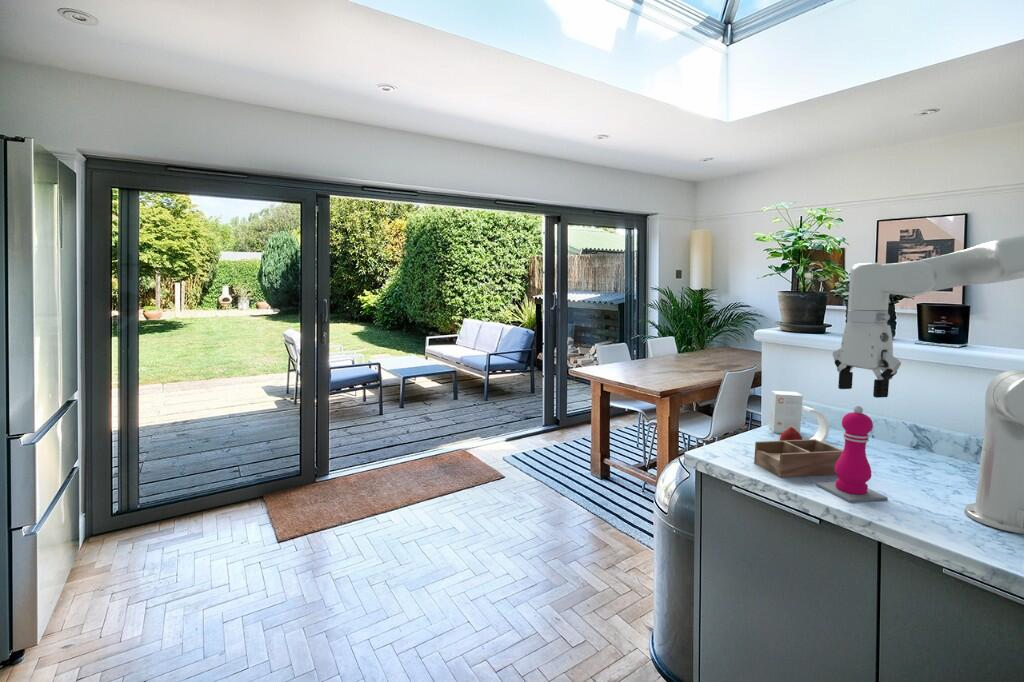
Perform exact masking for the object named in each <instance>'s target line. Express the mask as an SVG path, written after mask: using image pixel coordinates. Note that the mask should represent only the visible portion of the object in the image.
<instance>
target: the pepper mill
mask: <svg viewBox="0 0 1024 682" xmlns="http://www.w3.org/2000/svg"><path fill="white" fill-rule="evenodd" d="M863 411H864V409H863V407H862V406H860V405H857V406H855V407H854V408H853V412H848V413H846V414H845V415H844V416H843V418H842V420H841V426H842V428H843V429H844V430H845V431H843V432H842V433H843V436H842V437H843V439H844V446H843V449H842V450H843V452H842V454H841V456H840V457H839V459H838V460H837V462H836V465H835V473H836V475H835V476H837V477H838V478H837V479H836V480H835V482H836V488H837V489H838V490H840V491H843V492H846V493H850V494H856V495H864V494H866V493H867V489H868V488H869V486H868V484H867V482H868V481H870V480H871V479H872V469H871V465H870V462H869V461H868V457H867V455H866V454H867V453H866V449H867V448H866V447H867V446H866V445H867V443H868V442H869V441H870V440H869V438H870V435H869V433H871V432H872V430H873V428H874V426H873V424H874V423H873V421H872V419H871V417H870V416H868V415H867V414H865V413H863Z"/></svg>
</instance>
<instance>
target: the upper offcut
mask: <svg viewBox="0 0 1024 682" xmlns="http://www.w3.org/2000/svg"><path fill="white" fill-rule="evenodd" d="M767 454H769V455H771V456H773V457H775V458H777V459H779V460H780V454H777V453H767Z"/></svg>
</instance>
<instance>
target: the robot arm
mask: <svg viewBox="0 0 1024 682" xmlns="http://www.w3.org/2000/svg"><path fill="white" fill-rule="evenodd" d="M849 272H850V273H849V274H850V275H849V287H848V302H847V305H848V306H847V315H846V317H847V320H846V321H847V322H846V323H845V326H844V329H843V333H842V338H841V345H840V348H839V349H836V350H834V351H833V352H832V356H833V360H834V365H835V367H836V371H837V372H838V384H837V387H838V389H839V390H851V389H852V388H853V376H854V374H853V373H854V372H853V369H854V368H858V369H863V370H864V369H865V370H869V371H870V370H872V372H873V374H874V375H875V377H876V378H875V379H874V381H873V393H872V394H873V395H872V396H873V397H874V398H875V399H876V398H880V399H881V398H888V397H889V386H890V385H889V384H890V381H891V380H893V377H894V376H895V375H896V374H897V373H898V370H899V368H900V367H901V365H902V362H901V361H900V360H899V359H898V358H896V357H895V356H894V347H893V346H894V345H893V344H894V343H893V333H892V327H891V325H889V324H888V321H890V318H891V316H890V314H889V301H890V295H897V296H898V295H899V296H906V297H917V296H922V295H924V294H927V293H929V292H935V291H940V290H946V289H950V288H957V287H965V286H971V285H984V284H987V285H988V284H989V285H990V284H995V283H996V284H997V283H1002V282H1003V283H1004V282H1009V281H1013V280H1020V279H1024V233H1023V234H1018V235H1014V236H1010V237H1009V236H1008V237H1005V238H1000V239H995V240H991V241H987V242H984V243H981V244H978V245H975V246H973V247H969V248H966V249H962V250H959V251H955V252H951V253H947V254H942V255H937V256H933V257H929V258H928V257H927V258H924V259H918V260H908V261H902V262H893V263H886V262H861V263H856V264H854V265H853V266H852V267H850V271H849ZM986 387H987V388H986V391H985V395H984V397H985V399H984V400H985V401H984V403H985V404H984V409H985V410H984V412H985V413H984V430H983V437H982V439H983V440H982V445H981V446H982V447H981V453H980V454H981V455H980V461H979V468H978V469H979V470H978V472H979V473H978V480H977V485H976V486H977V487H976V496H975V503H969V504H967V505H965V506H964V513H965V515H967V516H968V517H969V518H970V519H972V520H974V521H976V522H978V523H981V524H983V525H986V526H989V527H992V528H993V529H994V528H995V529H997V530H1001V531H1004V532H1005V531H1006V532H1010V533H1016V534H1021V535H1024V369H1011V370H1006V371H1003V372H1001V373H999V374H997V375H996V376H994V377H993V378H992V379H991V380H990V381H989V383H988V385H987V386H986Z"/></svg>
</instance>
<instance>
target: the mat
mask: <svg viewBox="0 0 1024 682" xmlns="http://www.w3.org/2000/svg"><path fill="white" fill-rule="evenodd" d="M815 486H816V487H818V488H820V489H822V490H825V491H826V492H828V493H830V494H832V495H833V496H836V497H838V498H839V499H841V500H844V501H846V502H848V503H858V502H859V503H860V502H872V501H873V502H874V501H888V498H889V497H888V496H885V495H884V494H882V493H880V492H877V491H875V490H873V489H870V488H869V487H868V489H867V493H866V494H864V495H856V494H850V493H846V492H843V491H840V490H838V489H837V488H836V481H825V482H815Z"/></svg>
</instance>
